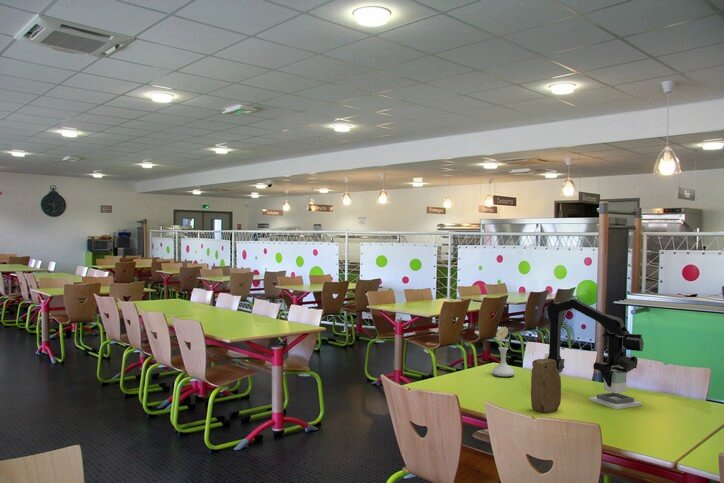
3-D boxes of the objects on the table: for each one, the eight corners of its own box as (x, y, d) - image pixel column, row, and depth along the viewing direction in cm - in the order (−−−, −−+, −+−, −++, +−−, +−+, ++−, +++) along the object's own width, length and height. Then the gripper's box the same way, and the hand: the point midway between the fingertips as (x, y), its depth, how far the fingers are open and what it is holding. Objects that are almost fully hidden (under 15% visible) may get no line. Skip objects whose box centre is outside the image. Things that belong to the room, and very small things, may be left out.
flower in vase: (489, 372, 283) (489, 323, 284) (512, 373, 283) (512, 324, 283) (494, 378, 270) (495, 327, 271) (518, 379, 270) (518, 327, 270)
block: (541, 414, 213) (541, 362, 213) (528, 409, 220) (528, 358, 220) (563, 411, 217) (563, 360, 217) (550, 406, 224) (550, 356, 224)
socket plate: (616, 409, 220) (616, 402, 220) (589, 400, 233) (589, 393, 233) (641, 405, 226) (641, 398, 226) (613, 396, 239) (613, 390, 239)
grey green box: (615, 393, 226) (615, 373, 226) (603, 389, 231) (603, 370, 231) (626, 391, 228) (626, 372, 228) (614, 388, 234) (614, 369, 234)
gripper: (614, 353, 219) (614, 393, 218) (648, 350, 226) (647, 388, 226) (592, 348, 229) (592, 386, 229) (625, 345, 236) (624, 382, 236)
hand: (614, 386), depth 230 cm, fingers closed on grey green box, 6 cm apart
